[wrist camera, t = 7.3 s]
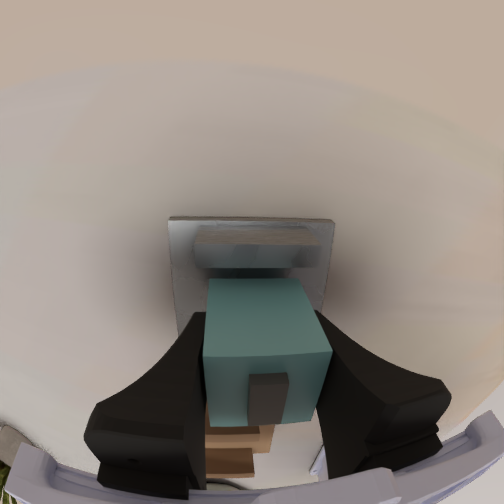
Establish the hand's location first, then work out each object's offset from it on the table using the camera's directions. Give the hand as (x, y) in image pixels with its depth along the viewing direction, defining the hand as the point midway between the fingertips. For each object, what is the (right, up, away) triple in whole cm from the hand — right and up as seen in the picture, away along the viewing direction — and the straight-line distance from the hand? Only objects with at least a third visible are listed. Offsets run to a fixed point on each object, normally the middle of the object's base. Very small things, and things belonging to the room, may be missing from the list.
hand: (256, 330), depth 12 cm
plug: (0, 0, +1) cm, 2 cm away
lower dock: (0, +1, +3) cm, 3 cm away
